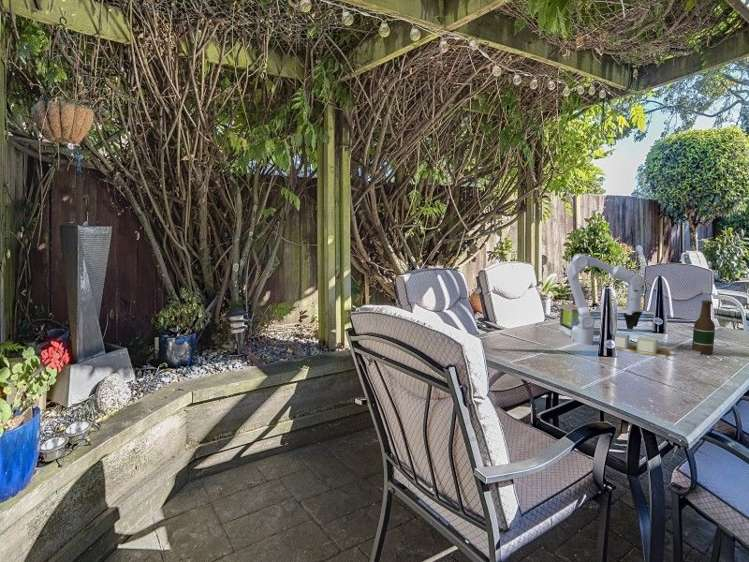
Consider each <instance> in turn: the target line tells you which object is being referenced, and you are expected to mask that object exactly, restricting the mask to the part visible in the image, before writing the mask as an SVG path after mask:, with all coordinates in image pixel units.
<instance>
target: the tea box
mask: <svg viewBox="0 0 749 562" xmlns="http://www.w3.org/2000/svg"><path fill="white" fill-rule="evenodd" d="M588 309H589V311H590V312H591V309H590V308H588ZM578 315H579V314H578V310H577V306H576V304H560V316H559V331H560V332H562V333H563V334H566V335H567V336H569V337H571V333H572V328H573V326H578V324H579V323H580V322H579V320H578Z"/></svg>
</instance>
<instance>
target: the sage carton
mask: <svg viewBox="0 0 749 562" xmlns="http://www.w3.org/2000/svg"><path fill="white" fill-rule="evenodd" d="M658 342H659V338H654V337H648V336H641V335H640V336H638V337H637V341H636V344H637V351H640V352H646V353H652V354H656V353H657V347H658Z"/></svg>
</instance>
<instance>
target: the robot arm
mask: <svg viewBox="0 0 749 562" xmlns="http://www.w3.org/2000/svg"><path fill="white" fill-rule="evenodd" d="M568 264H569V265H568V268H567V270H566V277H567V280H568V283H569V287H570V290H571V293H572V296H573V299H574V303H575V305H576V306H577V310H578V314H579V315H578V320H579V322H580V323H579V324H578V326H573V328H572V333H571V336H570V339H571V340H570V343H576V344H580V345H594V332H595V322H596V321H595V318H594V317H593V316H592V314H591V310H590V311H589V309H590V308H589V307H588V303H587V300H586V297H585V294H584V292H583V287H582V285H581V282H580V278H579V274H580V273H581V272H582V270H583V269H585V268H586V267H595V268H599V269H600V270H603V271H606V272H608V273H610V275H611V276H612V278H615V279H617V280H620V281H622V282H624V283H628V284H627V285H628V286H627V292H626V293H627V296H626V306H625V310H626V313H623V317H624V320H625V323H626V330H633V329H634V328H636V327H638V324H639V323H638V322H640V321H639V320H640V317H641V315H642V314H643V311H644V308H641V305H642V294H643V293H642V292H643V291H642V290H643V289H642V288H643V285H644V283H645V279H644V276H643V275H641V274H639V273H637V272H635V270H630V269H628V268H625V266H624V265H615V266H614V265H611V264H610V263H606V262H604V261H603V260H600V259H598V258H596V257H593V256H589V255H585V254H583V253H577V254H574V255H573V256H572V257H571V259H570V260H569V263H568Z"/></svg>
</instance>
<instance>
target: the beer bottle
mask: <svg viewBox="0 0 749 562" xmlns="http://www.w3.org/2000/svg"><path fill="white" fill-rule="evenodd" d="M712 304H713V303H712V300H704V299H703V300H702V301H701V308H700V314H699V317H698V318H697V319H696V321H695V323H694V325H693V330H692V331H693V333H692V343H691V345H692V346H691V349H692V350H693V351H695V352H699V355H702V354H705V356H710V355H709V354H711V355H713V352H714V342H715V334H716V325H715V322H714V320H712V315H711V314H712Z"/></svg>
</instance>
